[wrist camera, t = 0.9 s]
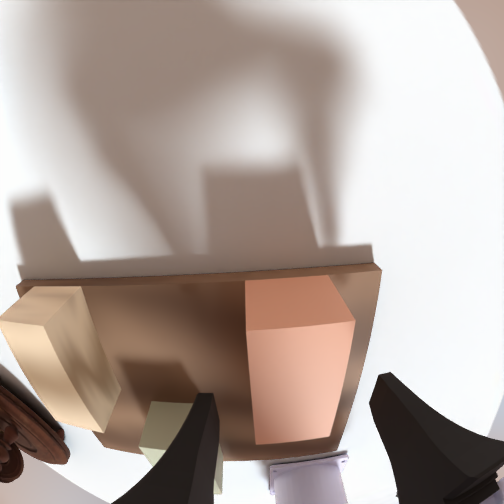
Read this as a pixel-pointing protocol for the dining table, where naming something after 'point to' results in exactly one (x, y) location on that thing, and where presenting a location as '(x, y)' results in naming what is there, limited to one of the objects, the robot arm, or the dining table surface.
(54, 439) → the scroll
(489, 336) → the dining table surface
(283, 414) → the terracotta brick
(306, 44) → the dining table surface
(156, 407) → the sage green brick
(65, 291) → the birch brick
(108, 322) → the walnut board
